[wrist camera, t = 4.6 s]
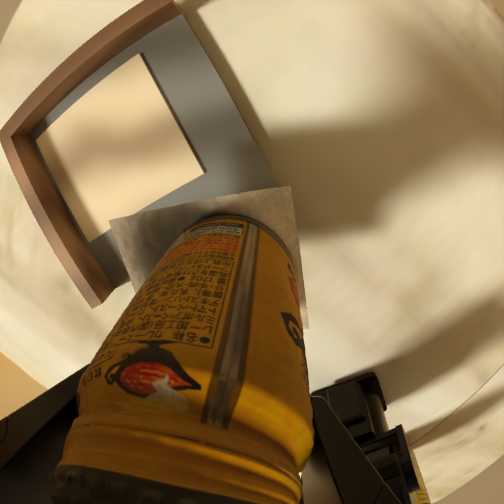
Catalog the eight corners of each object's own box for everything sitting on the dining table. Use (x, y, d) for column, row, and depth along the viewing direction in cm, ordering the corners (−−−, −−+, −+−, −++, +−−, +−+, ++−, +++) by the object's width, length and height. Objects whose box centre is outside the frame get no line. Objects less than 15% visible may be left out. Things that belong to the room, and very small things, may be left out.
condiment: (308, 325, 15) (333, 569, 4) (156, 339, 16) (75, 534, 5) (290, 183, 13) (369, 505, 2) (111, 217, 14) (-84, 394, 3)
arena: (286, 202, 19) (288, 216, 16) (109, 288, 23) (91, 308, 20) (177, 5, 14) (163, -12, 12) (22, 130, 18) (-3, 134, 15)
